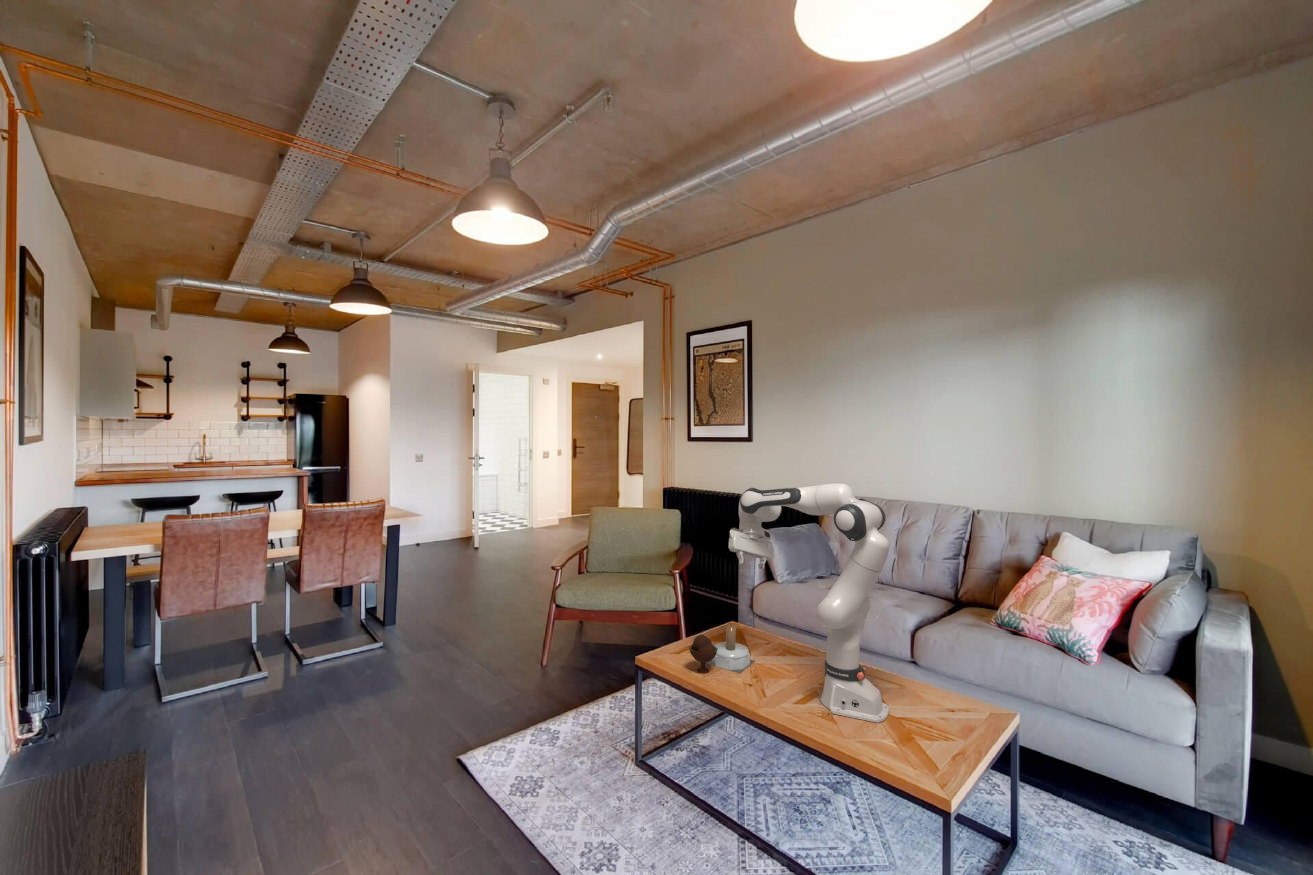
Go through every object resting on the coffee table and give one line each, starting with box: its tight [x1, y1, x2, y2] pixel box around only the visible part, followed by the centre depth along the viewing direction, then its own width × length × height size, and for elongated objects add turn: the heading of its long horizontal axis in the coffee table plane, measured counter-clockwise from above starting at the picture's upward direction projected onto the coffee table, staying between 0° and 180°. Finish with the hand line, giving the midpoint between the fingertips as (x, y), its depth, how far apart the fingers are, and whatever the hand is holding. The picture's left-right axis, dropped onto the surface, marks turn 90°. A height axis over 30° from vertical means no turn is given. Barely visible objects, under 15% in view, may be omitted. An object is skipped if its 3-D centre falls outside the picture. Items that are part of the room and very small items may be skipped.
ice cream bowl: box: [689, 634, 717, 675], centre depth 221 cm, size 11×11×15 cm
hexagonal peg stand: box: [711, 624, 751, 671], centre depth 230 cm, size 15×15×14 cm
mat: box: [705, 658, 756, 674], centre depth 230 cm, size 16×15×1 cm
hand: (752, 566), depth 218 cm, fingers open, 8 cm apart
